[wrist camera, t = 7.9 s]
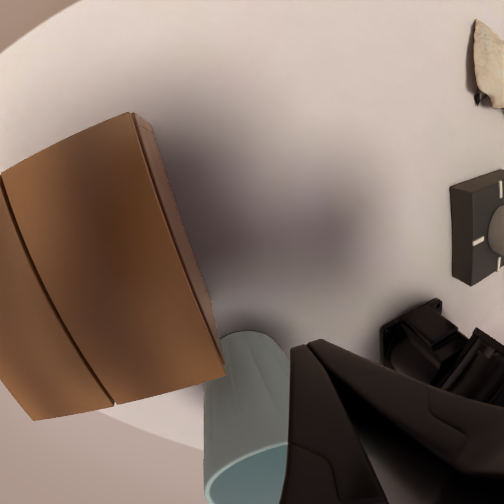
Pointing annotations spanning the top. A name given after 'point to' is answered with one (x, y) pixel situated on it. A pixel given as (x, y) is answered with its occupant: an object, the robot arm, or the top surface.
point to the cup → (247, 422)
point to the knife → (480, 96)
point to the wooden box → (50, 322)
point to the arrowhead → (489, 63)
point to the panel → (475, 226)
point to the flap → (112, 262)
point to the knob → (497, 231)
